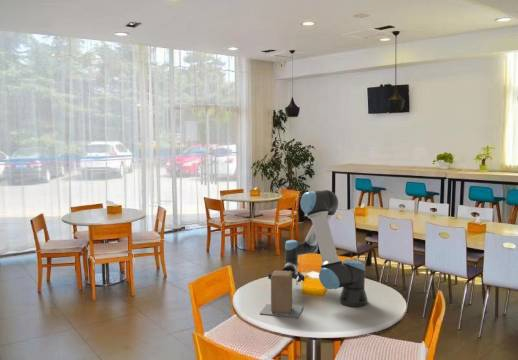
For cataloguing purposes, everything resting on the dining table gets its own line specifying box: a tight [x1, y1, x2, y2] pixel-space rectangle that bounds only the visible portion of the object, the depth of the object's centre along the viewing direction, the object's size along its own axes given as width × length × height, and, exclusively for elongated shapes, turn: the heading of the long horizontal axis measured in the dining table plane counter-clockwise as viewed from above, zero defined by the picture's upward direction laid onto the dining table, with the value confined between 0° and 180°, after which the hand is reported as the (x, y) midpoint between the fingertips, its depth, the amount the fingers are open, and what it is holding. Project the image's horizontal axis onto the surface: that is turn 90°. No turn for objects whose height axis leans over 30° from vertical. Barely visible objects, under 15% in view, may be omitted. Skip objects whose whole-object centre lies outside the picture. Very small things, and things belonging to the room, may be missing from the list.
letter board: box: [259, 303, 304, 319], centre depth 247 cm, size 20×14×1 cm
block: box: [270, 270, 293, 314], centre depth 246 cm, size 10×10×20 cm
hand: (284, 281), depth 255 cm, fingers open, 13 cm apart
